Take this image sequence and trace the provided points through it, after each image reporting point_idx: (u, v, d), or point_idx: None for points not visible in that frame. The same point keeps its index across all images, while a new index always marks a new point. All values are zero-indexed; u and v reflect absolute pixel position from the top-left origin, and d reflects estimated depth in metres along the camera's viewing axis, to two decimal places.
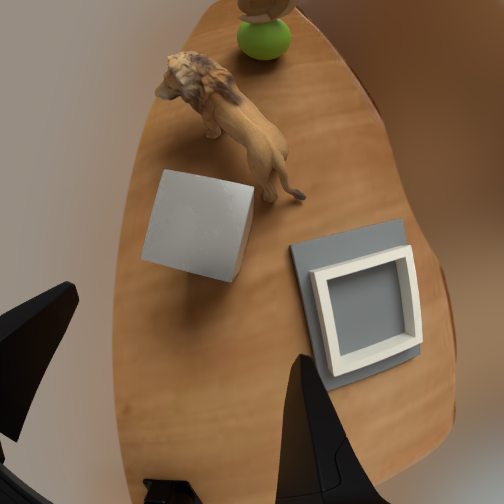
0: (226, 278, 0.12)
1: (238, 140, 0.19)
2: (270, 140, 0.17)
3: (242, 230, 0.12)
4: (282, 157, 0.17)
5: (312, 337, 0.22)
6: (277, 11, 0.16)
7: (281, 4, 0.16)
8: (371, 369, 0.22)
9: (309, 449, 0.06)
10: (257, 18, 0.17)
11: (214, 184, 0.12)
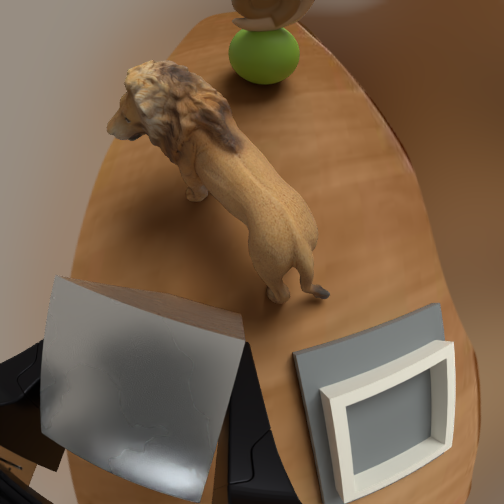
0: (190, 496, 0.04)
1: (234, 213, 0.12)
2: (293, 221, 0.10)
3: (217, 431, 0.05)
4: (311, 251, 0.10)
5: (318, 462, 0.13)
6: (284, 14, 0.12)
7: (290, 4, 0.11)
8: None
9: (227, 437, 0.06)
10: (257, 23, 0.13)
11: (151, 328, 0.05)
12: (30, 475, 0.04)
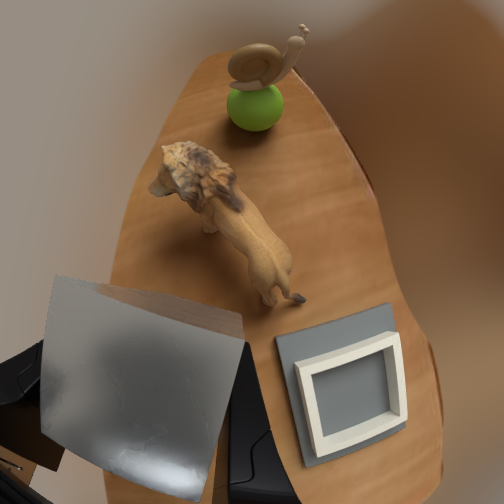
0: (189, 496, 0.04)
1: (239, 249, 0.19)
2: (275, 258, 0.17)
3: (217, 430, 0.05)
4: (286, 275, 0.17)
5: (296, 422, 0.20)
6: (270, 77, 0.19)
7: (274, 69, 0.18)
8: (355, 445, 0.20)
9: (227, 437, 0.06)
10: (248, 85, 0.20)
11: (150, 327, 0.05)
12: (31, 475, 0.04)
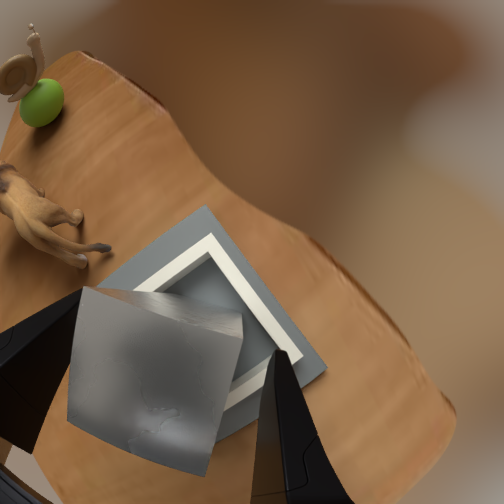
0: (196, 471, 0.06)
1: None
2: (23, 212, 0.12)
3: (220, 412, 0.06)
4: (38, 223, 0.13)
5: None
6: (29, 76, 0.14)
7: (28, 68, 0.13)
8: (253, 410, 0.16)
9: (277, 446, 0.06)
10: (20, 92, 0.14)
11: (167, 329, 0.06)
12: (6, 455, 0.04)
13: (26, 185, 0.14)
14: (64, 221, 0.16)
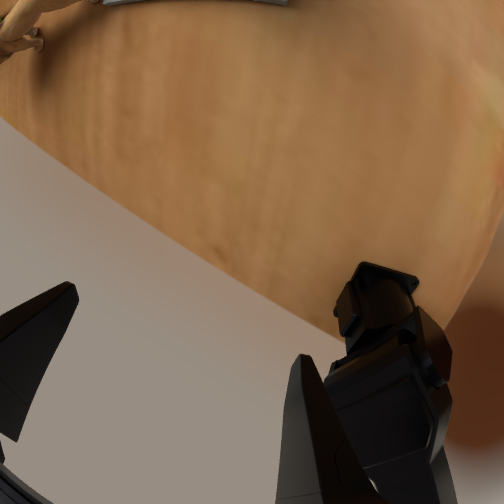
0: None
1: (28, 20, 0.08)
2: None
3: None
4: None
5: None
6: None
7: None
8: None
9: (309, 449, 0.06)
10: None
11: None
12: None
13: None
14: None
